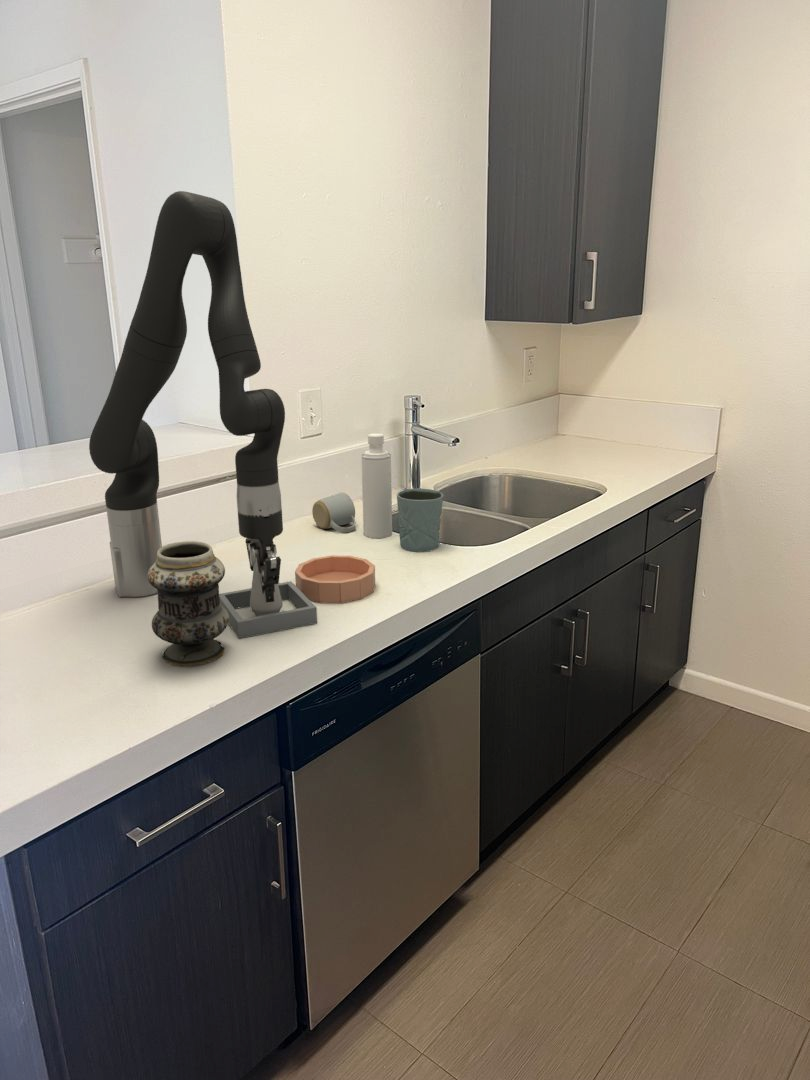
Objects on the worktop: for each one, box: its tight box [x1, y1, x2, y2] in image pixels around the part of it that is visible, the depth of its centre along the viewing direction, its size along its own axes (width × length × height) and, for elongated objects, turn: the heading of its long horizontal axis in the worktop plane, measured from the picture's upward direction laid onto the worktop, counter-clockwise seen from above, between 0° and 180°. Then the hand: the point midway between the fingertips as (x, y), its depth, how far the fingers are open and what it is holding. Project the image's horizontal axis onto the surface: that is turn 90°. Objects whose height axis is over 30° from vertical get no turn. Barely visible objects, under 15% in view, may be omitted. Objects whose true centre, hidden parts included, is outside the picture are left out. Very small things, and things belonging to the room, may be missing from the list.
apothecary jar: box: [148, 540, 229, 668], centre depth 131 cm, size 12×12×18 cm
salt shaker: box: [249, 549, 283, 617], centre depth 146 cm, size 6×6×13 cm
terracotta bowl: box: [294, 554, 376, 604], centre depth 160 cm, size 15×15×4 cm
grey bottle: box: [361, 432, 393, 539], centre depth 188 cm, size 7×7×25 cm
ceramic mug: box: [311, 492, 356, 534], centre depth 196 cm, size 11×8×8 cm
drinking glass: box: [396, 488, 444, 553], centre depth 182 cm, size 10×10×12 cm
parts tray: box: [219, 580, 318, 639], centre depth 148 cm, size 14×14×3 cm
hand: (265, 599), depth 147 cm, fingers closed on salt shaker, 3 cm apart
